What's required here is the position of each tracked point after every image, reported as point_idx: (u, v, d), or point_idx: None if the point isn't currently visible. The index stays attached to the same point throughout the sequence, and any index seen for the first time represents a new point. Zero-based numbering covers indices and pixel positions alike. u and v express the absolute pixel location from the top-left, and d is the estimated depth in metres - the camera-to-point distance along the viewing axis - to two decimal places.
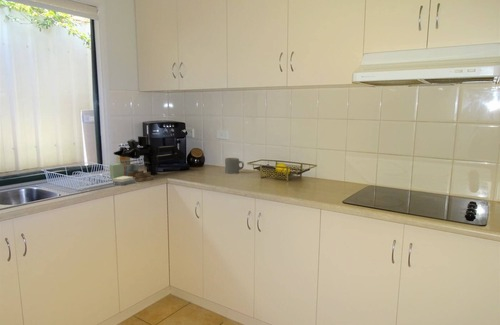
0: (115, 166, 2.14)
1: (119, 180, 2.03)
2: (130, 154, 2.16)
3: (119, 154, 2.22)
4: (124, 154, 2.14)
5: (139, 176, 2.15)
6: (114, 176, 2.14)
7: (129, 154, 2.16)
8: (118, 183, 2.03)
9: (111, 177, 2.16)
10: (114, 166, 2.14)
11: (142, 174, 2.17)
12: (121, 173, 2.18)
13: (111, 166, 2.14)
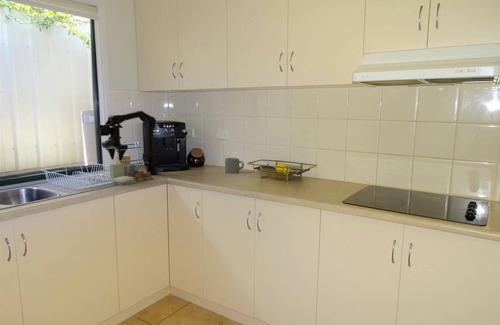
0: (115, 166, 2.14)
1: (119, 180, 2.03)
2: (121, 152, 2.12)
3: (113, 153, 2.20)
4: (120, 158, 2.13)
5: (139, 176, 2.15)
6: (114, 176, 2.14)
7: (121, 153, 2.12)
8: (118, 183, 2.03)
9: (111, 177, 2.16)
10: (114, 166, 2.14)
11: (142, 174, 2.17)
12: (121, 173, 2.18)
13: (111, 166, 2.14)
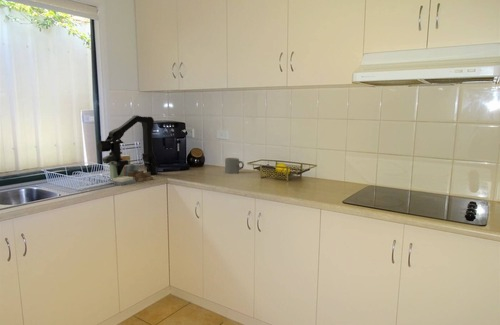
0: (115, 166, 2.14)
1: (119, 180, 2.03)
2: (120, 167, 2.15)
3: None
4: (119, 173, 2.16)
5: (139, 176, 2.15)
6: (114, 176, 2.14)
7: (120, 168, 2.15)
8: (118, 183, 2.03)
9: (111, 177, 2.16)
10: (114, 166, 2.14)
11: (142, 174, 2.17)
12: (121, 173, 2.18)
13: (111, 166, 2.14)
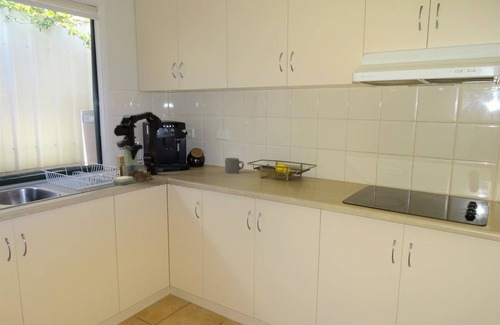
0: None
1: (119, 180, 2.03)
2: (134, 151, 2.15)
3: None
4: (133, 157, 2.16)
5: (139, 176, 2.15)
6: (128, 160, 2.14)
7: (134, 152, 2.15)
8: (118, 183, 2.03)
9: (125, 161, 2.16)
10: (128, 150, 2.14)
11: (142, 174, 2.17)
12: (135, 157, 2.18)
13: (125, 150, 2.14)
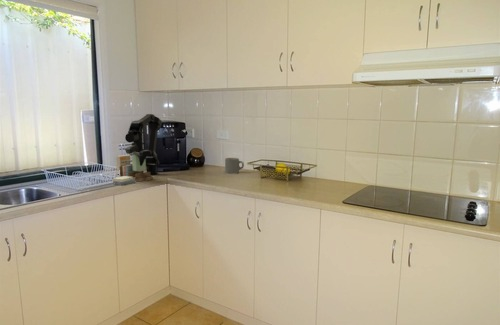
0: (137, 156, 2.15)
1: (119, 180, 2.03)
2: (142, 157, 2.16)
3: None
4: (141, 163, 2.17)
5: (139, 176, 2.15)
6: (136, 166, 2.15)
7: (142, 158, 2.16)
8: (118, 183, 2.03)
9: (133, 167, 2.17)
10: (137, 156, 2.15)
11: (142, 174, 2.17)
12: (143, 163, 2.19)
13: (133, 156, 2.15)
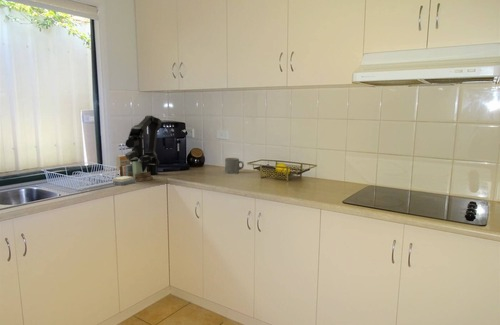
0: (138, 163, 2.16)
1: (119, 180, 2.03)
2: (144, 163, 2.15)
3: None
4: (143, 169, 2.16)
5: (139, 176, 2.15)
6: (137, 173, 2.16)
7: (144, 164, 2.15)
8: (118, 183, 2.03)
9: (134, 174, 2.17)
10: (137, 163, 2.15)
11: (142, 174, 2.17)
12: None
13: (134, 163, 2.16)
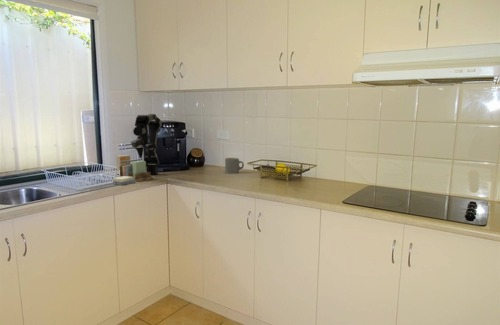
0: (138, 163, 2.16)
1: (119, 180, 2.03)
2: (150, 151, 2.18)
3: (141, 151, 2.25)
4: (149, 157, 2.18)
5: (139, 176, 2.15)
6: (137, 173, 2.16)
7: (150, 152, 2.18)
8: (118, 183, 2.03)
9: (134, 174, 2.17)
10: (137, 163, 2.15)
11: (142, 174, 2.17)
12: (143, 170, 2.19)
13: (134, 163, 2.16)
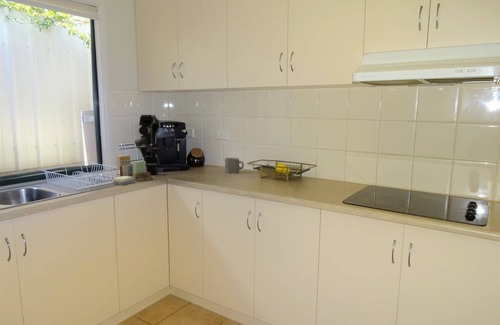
0: (138, 163, 2.16)
1: (119, 180, 2.03)
2: (153, 150, 2.20)
3: (144, 151, 2.27)
4: (152, 156, 2.20)
5: (139, 176, 2.15)
6: (137, 173, 2.16)
7: (153, 151, 2.20)
8: (118, 183, 2.03)
9: (134, 174, 2.17)
10: (137, 163, 2.15)
11: (142, 174, 2.17)
12: (143, 170, 2.19)
13: (134, 163, 2.16)
